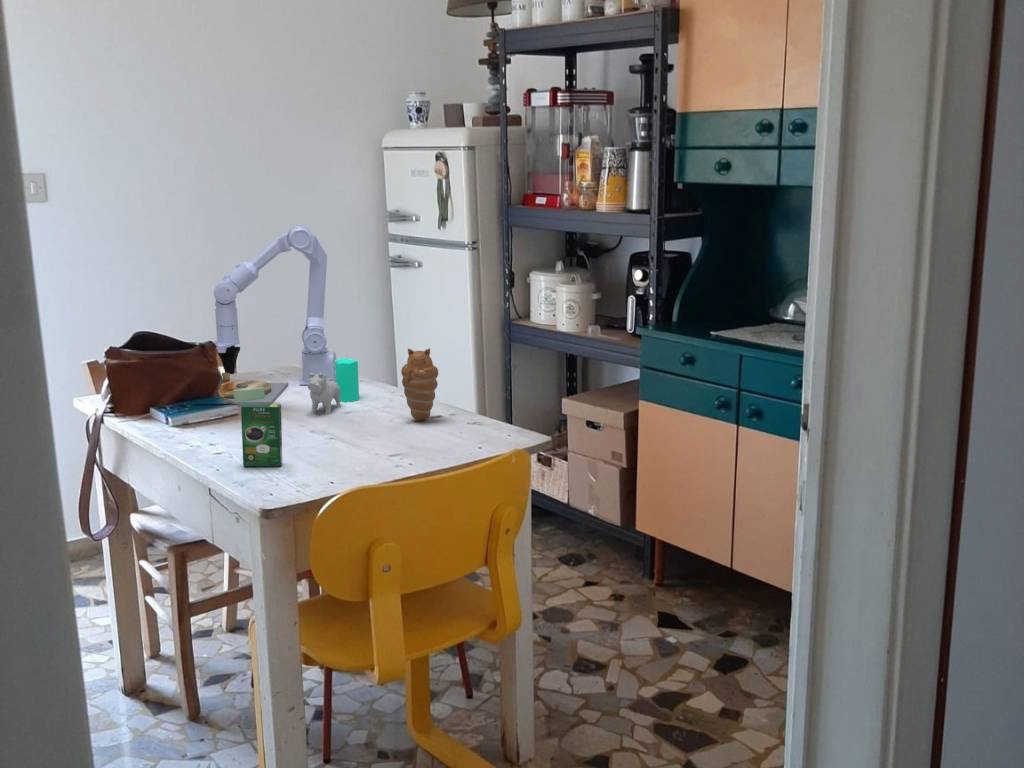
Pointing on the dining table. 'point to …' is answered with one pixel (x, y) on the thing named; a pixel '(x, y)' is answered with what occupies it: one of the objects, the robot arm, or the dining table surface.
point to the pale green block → (249, 394)
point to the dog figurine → (323, 392)
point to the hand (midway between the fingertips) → (230, 373)
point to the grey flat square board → (266, 395)
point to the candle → (347, 379)
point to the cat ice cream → (419, 383)
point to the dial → (240, 386)
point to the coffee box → (261, 435)
